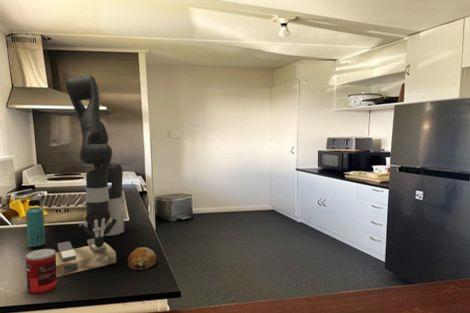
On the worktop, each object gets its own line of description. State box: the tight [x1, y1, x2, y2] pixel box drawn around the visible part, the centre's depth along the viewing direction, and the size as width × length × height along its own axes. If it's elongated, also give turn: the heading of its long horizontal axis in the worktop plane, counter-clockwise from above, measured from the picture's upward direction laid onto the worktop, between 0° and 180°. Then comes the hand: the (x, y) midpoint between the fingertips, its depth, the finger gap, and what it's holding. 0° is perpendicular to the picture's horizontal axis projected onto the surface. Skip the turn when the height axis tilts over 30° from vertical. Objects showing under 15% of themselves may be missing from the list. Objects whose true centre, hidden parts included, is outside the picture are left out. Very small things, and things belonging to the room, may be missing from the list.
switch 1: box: [57, 240, 76, 261], centre depth 113 cm, size 4×10×2 cm, turn 38°
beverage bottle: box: [25, 199, 46, 247], centre depth 132 cm, size 6×7×20 cm
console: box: [55, 242, 117, 278], centre depth 116 cm, size 20×13×4 cm, turn 128°
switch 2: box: [86, 237, 106, 252], centre depth 119 cm, size 4×10×2 cm, turn 38°
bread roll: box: [127, 246, 157, 271], centre depth 116 cm, size 10×10×8 cm
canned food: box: [25, 248, 58, 295], centre depth 98 cm, size 8×8×11 cm
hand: (98, 246), depth 116 cm, fingers closed
